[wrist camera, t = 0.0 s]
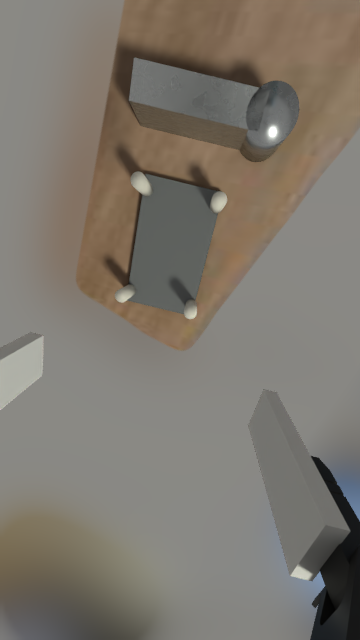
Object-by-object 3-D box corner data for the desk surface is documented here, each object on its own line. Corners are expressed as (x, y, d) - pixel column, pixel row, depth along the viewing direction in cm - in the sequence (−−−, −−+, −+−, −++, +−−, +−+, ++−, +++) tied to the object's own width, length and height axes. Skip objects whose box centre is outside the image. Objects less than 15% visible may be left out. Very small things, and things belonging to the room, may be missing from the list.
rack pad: (143, 174, 34) (133, 160, 29) (225, 194, 34) (231, 184, 29) (125, 298, 41) (113, 306, 35) (194, 315, 41) (193, 326, 35)
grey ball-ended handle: (139, 134, 33) (127, 110, 27) (147, 82, 31) (135, 45, 25) (272, 166, 33) (287, 149, 27) (287, 116, 31) (307, 87, 25)
